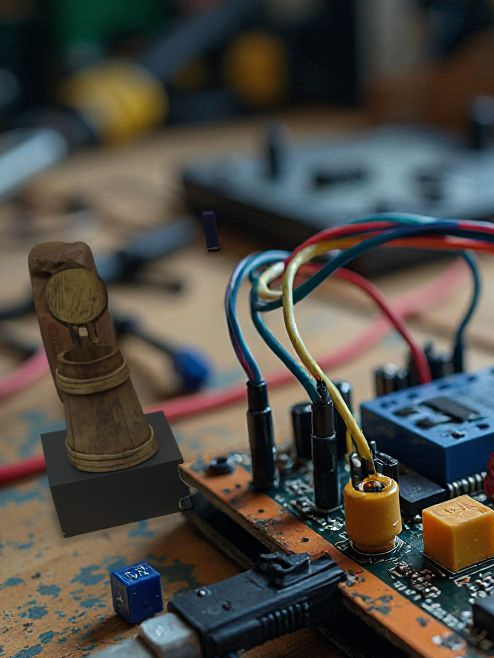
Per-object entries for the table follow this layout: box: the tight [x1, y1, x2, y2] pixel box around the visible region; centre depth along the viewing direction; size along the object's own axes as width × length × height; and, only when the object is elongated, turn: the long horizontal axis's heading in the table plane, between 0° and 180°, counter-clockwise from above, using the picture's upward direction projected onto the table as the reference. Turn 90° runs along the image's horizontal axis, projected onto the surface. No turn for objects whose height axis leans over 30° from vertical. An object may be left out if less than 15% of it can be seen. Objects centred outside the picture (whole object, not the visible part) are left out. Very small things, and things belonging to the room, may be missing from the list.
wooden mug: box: [45, 260, 158, 472], centre depth 109 cm, size 9×14×18 cm, turn 22°
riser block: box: [39, 410, 192, 539], centre depth 114 cm, size 13×13×6 cm
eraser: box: [201, 210, 221, 253], centre depth 191 cm, size 2×2×7 cm
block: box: [27, 240, 118, 406], centre depth 132 cm, size 11×8×20 cm
